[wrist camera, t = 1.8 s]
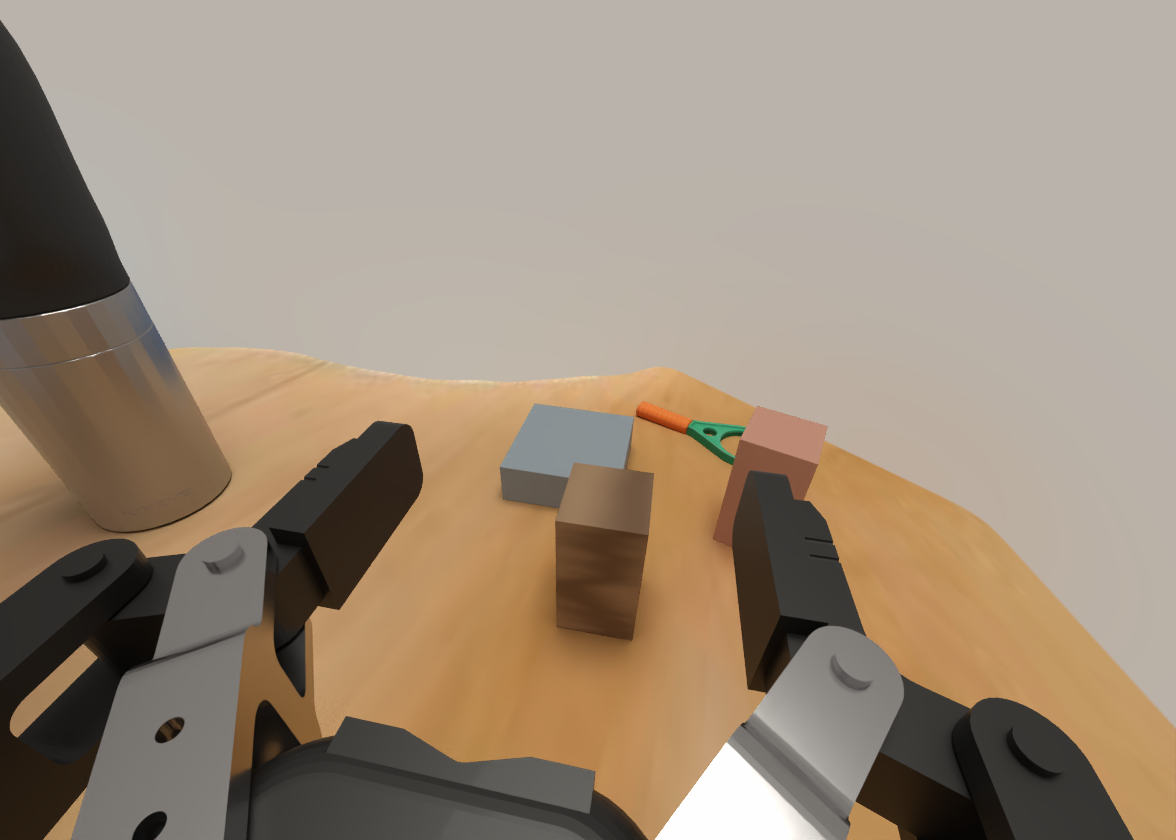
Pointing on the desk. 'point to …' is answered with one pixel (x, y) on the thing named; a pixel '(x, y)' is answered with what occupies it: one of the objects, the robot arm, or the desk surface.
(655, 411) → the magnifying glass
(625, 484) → the walnut block
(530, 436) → the slate base block
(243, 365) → the desk surface
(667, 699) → the desk surface
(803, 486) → the brick-red block
